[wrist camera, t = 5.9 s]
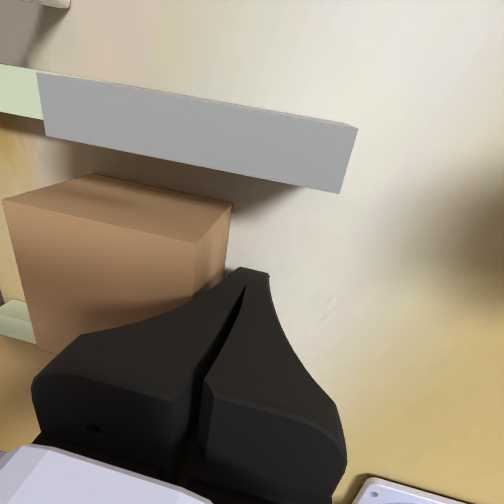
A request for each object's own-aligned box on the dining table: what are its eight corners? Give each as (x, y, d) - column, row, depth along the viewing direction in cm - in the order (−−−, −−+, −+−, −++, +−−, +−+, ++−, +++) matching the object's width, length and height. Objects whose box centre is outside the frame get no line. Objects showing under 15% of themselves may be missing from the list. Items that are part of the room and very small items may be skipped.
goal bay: (130, 350, 16) (118, 366, 15) (18, 320, 17) (-2, 333, 16) (118, 84, 10) (96, 80, 9) (-53, 54, 11) (-92, 48, 10)
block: (217, 321, 14) (185, 390, 11) (103, 292, 15) (37, 349, 11) (232, 203, 12) (196, 243, 8) (92, 173, 12) (1, 199, 9)
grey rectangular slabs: (272, 388, 16) (261, 457, 12) (130, 350, 16) (87, 406, 13) (344, 123, 10) (358, 128, 7) (118, 84, 10) (35, 72, 7)
